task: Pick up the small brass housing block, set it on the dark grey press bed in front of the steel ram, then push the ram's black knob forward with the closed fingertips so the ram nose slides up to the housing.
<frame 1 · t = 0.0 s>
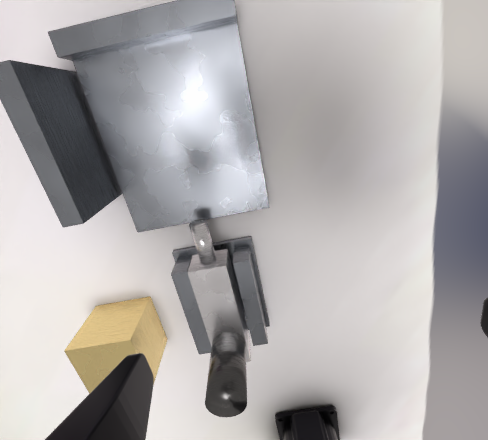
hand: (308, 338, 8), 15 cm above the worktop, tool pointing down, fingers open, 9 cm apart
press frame: (213, 248, 23), on the worktop
housing block: (133, 322, 26), on the worktop
ram: (215, 314, 19), point 5 cm above the worktop, slide at 0.0 cm
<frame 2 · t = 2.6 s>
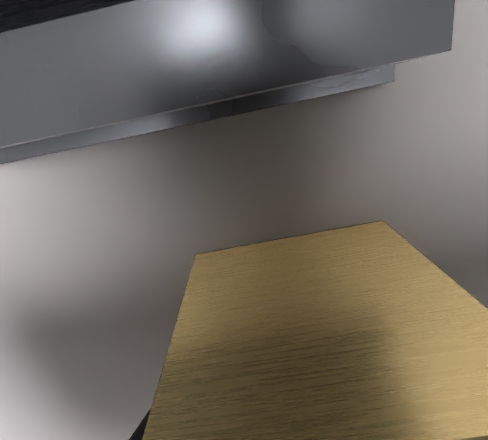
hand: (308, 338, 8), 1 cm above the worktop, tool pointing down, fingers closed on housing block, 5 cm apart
housing block: (298, 311, 9), on the worktop, touching gripper
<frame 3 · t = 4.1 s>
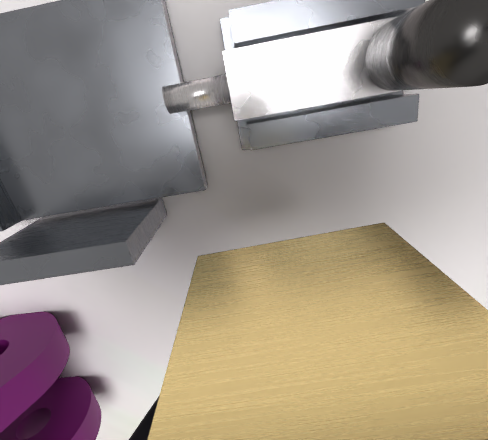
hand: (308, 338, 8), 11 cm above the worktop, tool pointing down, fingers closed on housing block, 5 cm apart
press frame: (241, 88, 15), on the worktop
housing block: (300, 313, 9), point 10 cm above the worktop, touching gripper
ram: (305, 71, 11), point 5 cm above the worktop, slide at 0.0 cm
when the fingers open (3 cm above the worktop, at t = 6.0 s): housing block drops 1 cm, resting on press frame.
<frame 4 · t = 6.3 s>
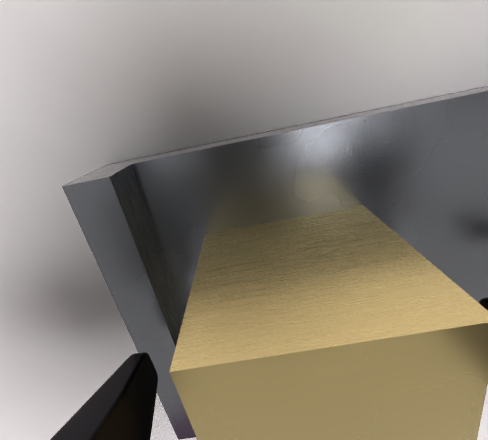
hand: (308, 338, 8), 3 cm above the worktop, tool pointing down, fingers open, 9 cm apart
housing block: (292, 285, 10), point 1 cm above the worktop, touching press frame
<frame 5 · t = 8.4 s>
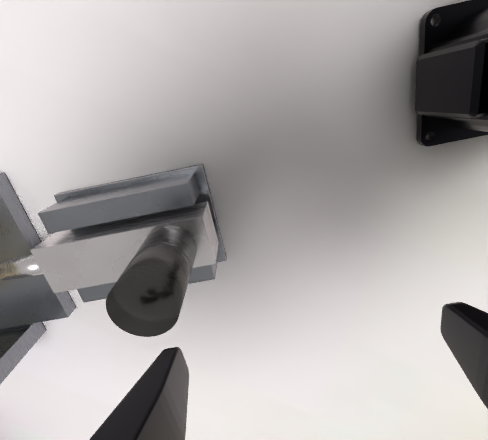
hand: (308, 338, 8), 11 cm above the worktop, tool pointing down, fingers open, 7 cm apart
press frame: (87, 238, 18), on the worktop
ram: (86, 274, 14), point 5 cm above the worktop, slide at 0.0 cm
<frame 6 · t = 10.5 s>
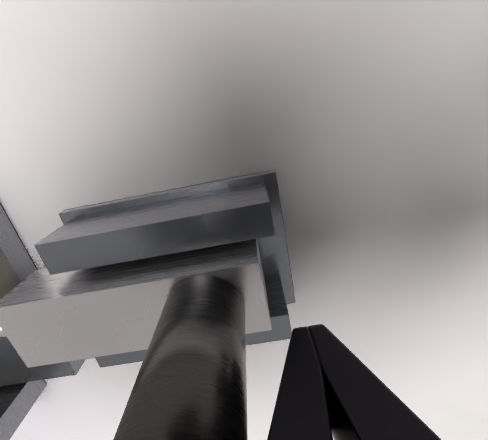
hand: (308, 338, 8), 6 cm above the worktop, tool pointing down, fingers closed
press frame: (104, 271, 13), on the worktop
ram: (73, 353, 9), point 5 cm above the worktop, slide at 1.2 cm, touching gripper
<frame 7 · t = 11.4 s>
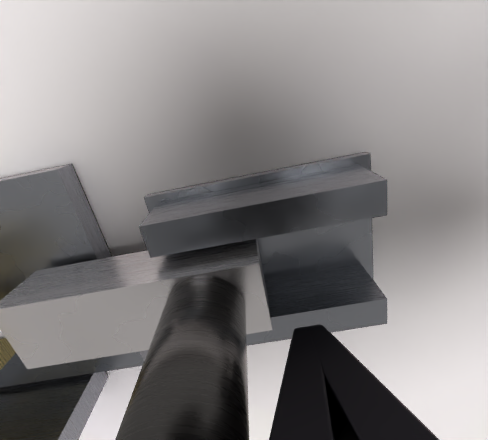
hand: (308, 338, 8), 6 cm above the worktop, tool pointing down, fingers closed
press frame: (180, 258, 13), on the worktop
ram: (73, 354, 9), point 5 cm above the worktop, slide at 4.9 cm, touching gripper, housing block
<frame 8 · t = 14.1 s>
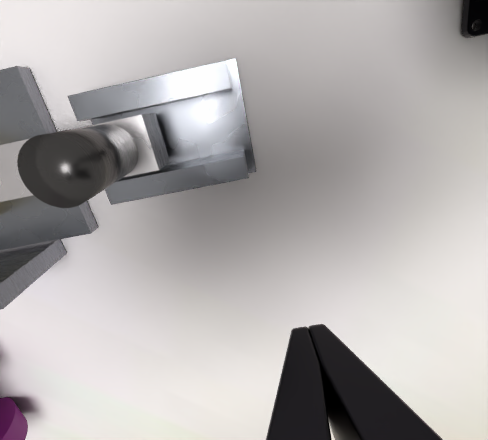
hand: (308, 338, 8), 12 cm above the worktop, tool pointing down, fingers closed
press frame: (112, 146, 18), on the worktop
ram: (21, 172, 13), point 5 cm above the worktop, slide at 4.9 cm, touching housing block
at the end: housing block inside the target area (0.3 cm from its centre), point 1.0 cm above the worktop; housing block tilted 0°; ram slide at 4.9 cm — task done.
